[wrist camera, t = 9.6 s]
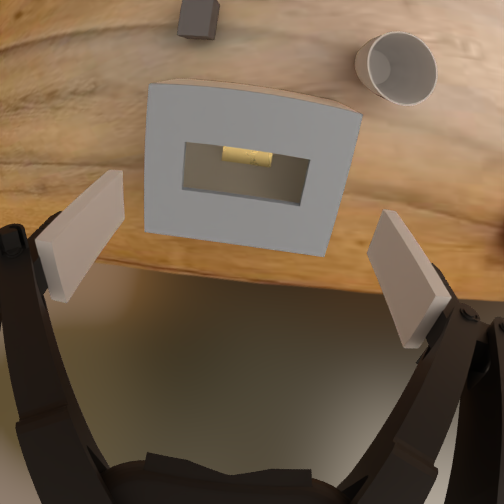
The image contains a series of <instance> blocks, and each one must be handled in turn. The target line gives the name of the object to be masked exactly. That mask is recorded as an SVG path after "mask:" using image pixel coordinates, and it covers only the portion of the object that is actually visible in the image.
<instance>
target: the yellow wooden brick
mask: <svg viewBox="0 0 504 504" xmlns="http://www.w3.org/2000/svg"><path fill="white" fill-rule="evenodd" d="M272 156H273V153H269V152H262V151H256V150H249V149H242V148H234V147H227V146H223V152H222V160H221V161H228V162H235V163H242V164H249V165H256V166H263V167H269V168H270V167H271V162H272Z"/></svg>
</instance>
